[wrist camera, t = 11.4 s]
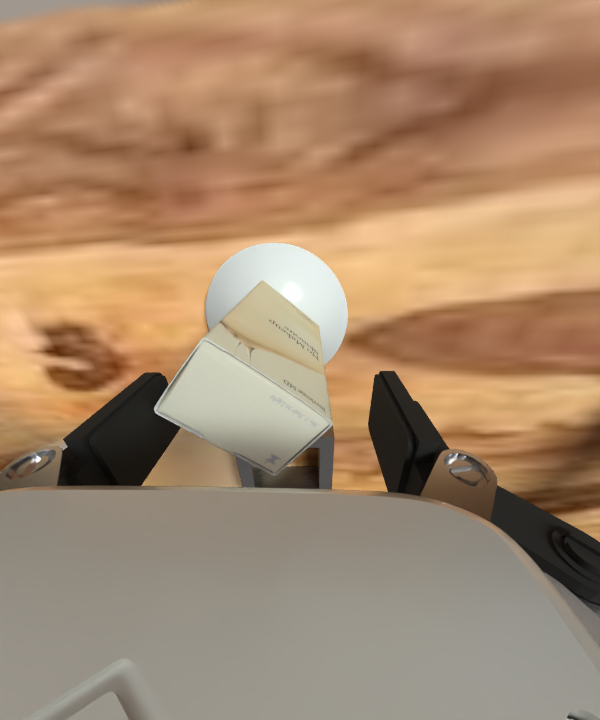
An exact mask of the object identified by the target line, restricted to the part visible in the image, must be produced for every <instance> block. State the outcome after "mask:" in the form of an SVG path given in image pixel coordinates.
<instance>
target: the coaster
mask: <svg viewBox="0 0 600 720" xmlns="http://www.w3.org/2000/svg"><path fill="white" fill-rule="evenodd" d="M262 280H263V281H265V282H266V283H267V284H268V285H270V286H271V287H272V288H274V289H275V290H276V291H277V292H279V293H280V294H281V295H282V296H284V297H285V298H286V299H287V300H288V301H290V302H291V303H292V304H293V305H295V306H296V307H297V308H298V309H299V310H301V311H302V312H303V313H304V314H305V315H307V316H308V317H309V318H310V319H311V320H313V321H314V322H315V323H316V324H317V325H318V326H319V330H320V337H321V344H322V352H323V358H324V365H325V364H326V363H327V362H328V361H329V360H330V359H331V358H332V357H333V356H334V354H335V353H336V352H337V350H338V348H339V347H340V345H341V343H342V340H343V338H344V335H345V331H346V327H347V320H348V310H347V303H346V298H345V295H344V292H343V289H342V287H341V285H340V283H339V281H338V279H337V278H336V276H335V274H334V273H333V272H332V271H331V269H330V268H329V267H328V266H327V265H326V264H325V263H324V262H323V261H322V260H321V259H320V258H318V257H317V256H315V255H314V254H312V253H311V252H309V251H307V250H305V249H303V248H301V247H298V246H295V245H291V244H286V243H263V244H258V245H254V246H251V247H248V248H246V249H243V250H241V251H239V252H238V253H236V254H235V255H233V256H232V257H230V258H229V259H228V260H227V261H226V262H225V263H224V264H223V265H222V266H221V267H220V268H219V270H218V271H217V273H216V274H215V276H214V278H213V280H212V282H211V284H210V286H209V290H208V294H207V299H206V318H207V324H208V327H209V331H210V330H211V329H212V328H213V327H214V326H215V325H216V324H218V323H219V322H220V321H221V320H222V319H223V318H224V317H225V316H226V315H227V314H228V313H229V312H230V311H231V310H232V309H233V308H234V307H235V306H236V305H237V304H238V303H239V302H240V301H241V300H242V299H243V298H244V297H245V296H246V295H247V294H248V293H249V292H250V291H252V290H253V289H254V288H255V287H256V286H257V285H258V284H259V283H260V282H261V281H262Z"/></svg>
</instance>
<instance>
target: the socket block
mask: <svg viewBox="0 0 600 720" xmlns="http://www.w3.org/2000/svg"><path fill="white" fill-rule="evenodd" d="M308 448H317V466H302V467H285V468H284V469H282V470H281V471H280V472H279V473H278V474H277V475H275V476H273V475H271V474H269V473H268V472H266V471H264V470H262V469H260V468H258V467H256V466H254V465H252V464H250V463H248V462H246V461H245V460H243V459H241V458H239V457H237V456H236V459H237V464H238V468H239V473H240V477H241V482H242V486H243V487H246V488H294V489H332V473H333V454H334V432H333V426H331V428H329V429H328V430H327V431H326V432H325V433H324V434H323V435H322V436H321V437H319V438H318V439H317V440H316V441H315V442H314V443H313V444H312V445H311V446H310V447H308Z"/></svg>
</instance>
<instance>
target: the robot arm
mask: <svg viewBox="0 0 600 720" xmlns="http://www.w3.org/2000/svg"><path fill="white" fill-rule="evenodd" d="M167 387H168V382H167V379H166V377H165V376H163V375H162V374H161V373H144V374H143V375H141V376H140V377H139V378H138V379H137V380H135V381H134V382H133V383H132V384H130V385H129V386H128V387H127V388H125V389H124V390H123V391H122V392H121V393H119V394H118V395H117V396H116V397H114V398H113V399H112V400H111V401H109V402H108V403H107V404H106V405H105V406H103V407H102V408H101V409H100V410H98V411H97V412H96V413H95V414H94V415H92V416H91V417H90V418H89V419H87V420H86V421H85V422H84V423H82V424H81V425H80V426H79V427H78V428H76V429H75V430H74V431H73V432H71V433H70V434H69V435H68V436H67V437H65V438H64V439H63V440H64V442H65V443H66V445H67V446H68V447H67V448H66V449H65V450H64V451H63V450H62V448H60V447H59V446H47V447H43V448H39V449H36V450H34V451H31V452H29V453H27V454H25V455H23V456H21V457H19V458H18V459H16V460H15V461H13V462H12V463H10V464H9V465H8V466H7V467H6V468H5V469H3V470H2V472H1V473H0V720H600V542H598V541H597V540H595V539H594V538H592V537H591V536H589V535H587V534H586V533H584V532H582V531H581V530H579V529H577V528H575V527H573V526H571V525H570V524H568V523H566V522H564V521H562V520H560V519H558V518H557V517H555V516H553V515H551V514H549V513H547V512H546V511H544V510H542V509H540V508H538V507H536V506H534V505H533V504H531V503H529V502H527V501H525V500H523V499H522V498H520V497H518V496H516V495H514V494H512V493H511V492H509V491H507V490H505V489H503V488H501V487H499V486H498V485H497V477H496V475H495V473H494V471H493V470H492V469H491V467H490V466H489V465H488V464H487V463H485V462H484V461H483V460H482V459H480V458H479V457H477V456H475V455H473V454H471V453H469V452H466V451H463V450H457V449H449V448H448V446H447V445H446V443H445V442H444V440H443V439H442V437H441V436H440V434H439V433H438V431H437V430H436V428H435V427H434V425H433V424H432V422H431V421H430V419H429V418H428V416H427V415H426V413H425V412H424V410H423V409H422V407H421V406H420V404H419V403H418V402H417V401H413V399H412V398H411V396H410V395H409V393H408V392H407V390H406V388H405V387H404V385H403V384H402V382H401V381H400V379H399V377H398V376H397V374H396V373H395V372H394V371H380V372H379V374H376V375H375V377H374V384H373V392H372V399H371V407H370V414H369V421H368V427H369V432H370V435H371V438H372V441H373V445H374V448H375V451H376V454H377V458H378V461H379V464H380V467H381V471H382V474H383V477H384V480H385V484H386V487H387V490H388V492H381V491H360V490H335V489H294V488H246V487H185V486H141V485H142V484H143V482H144V481H145V479H146V478H147V476H148V475H149V473H150V472H151V470H152V469H153V467H154V466H155V465H156V463H157V462H158V460H159V459H160V457H161V456H162V454H163V453H164V451H165V450H166V448H167V447H168V445H169V444H170V443H171V441H172V440H173V438H174V437H175V435H176V434H177V432H178V431H179V429H180V426H178V425H176V424H175V423H173V422H171V421H169V420H167V419H165V418H163V417H161V416H159V415H158V414H156V413H155V411H154V407H155V405H156V404H157V402H158V401H159V399H160V397H161V396H162V394H163V393H164V391H165V390H166V388H167Z"/></svg>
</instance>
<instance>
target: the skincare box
mask: <svg viewBox="0 0 600 720" xmlns="http://www.w3.org/2000/svg"><path fill="white" fill-rule="evenodd" d="M154 411H155V413H156V414H158V415H159V416H161V417H163V418H165V419H167V420H169V421H171V422H173V423H175V424H176V425H178V426H180V427H182V428H184V429H186V430H187V431H189V432H191V433H193V434H195V435H197V436H199V437H201V438H203V439H204V440H206V441H207V442H209V443H211V444H213V445H215V446H217V447H219V448H221V449H223V450H225V451H227V452H229V453H231V454H233V455H235V456H237V457H239V458H241V459H243V460H245V461H246V462H248V463H250V464H252V465H254V466H256V467H258V468H260V469H262V470H264V471H266V472H268V473H269V474H271V475H273V476H275V475H277V474H278V473H279V472H280V471H281V470H282V469H284V468H285V467H286V466H287V465H288V464H289V463H291V462H292V461H293V460H294V459H295V458H297V457H298V456H299V455H300V454H301V453H302V452H304V451H305V450H306V449H307V448H308V447H310V446H311V445H312V444H313V443H314V442H315V441H316V440H317V439H318V438H319V437H321V436H322V435H323V434H324V433H325V432H326V431H327V430H328V429H329V428H331V426H332V417H331V409H330V403H329V395H328V388H327V381H326V374H325V366H324V358H323V352H322V344H321V337H320V330H319V326H318V325H317V324H316V323H315V322H314V321H313V320H311V319H310V318H309V317H308V316H307V315H305V314H304V313H303V312H302V311H301V310H299V309H298V308H297V307H296V306H295V305H293V304H292V303H291V302H290V301H288V300H287V299H286V298H285V297H284V296H282V295H281V294H280V293H279V292H277V291H276V290H275V289H274V288H272V287H271V286H270V285H268V284H267V283H266V282H265V281H263V280H262V281H261V282H260V283H259V284H258V285H257V286H256V287H255V288H254V289H253V290H252V291H250V292H249V293H248V294H247V295H246V296H245V297H244V298H243V299H242V300H241V301H240V302H239V303H238V304H237V305H236V306H235V307H234V308H233V309H232V310H231V311H230V312H229V313H228V314H227V315H226V316H225V317H224V318H223V319H222V320H221V321H220V322H219V323H218V324H216V325H215V326H214V327H213V328H212V329H211V330H210V331H209V332H208V333H207V334H206V335H205V336H204V337H203V338H202V339H201V340H200V342H199V343H198V345H197V346H196V347H195V349H194V350H193V352H192V353H191V354H190V356H189V357H188V359H187V360H186V361H185V362H184V364H183V365H182V367H181V368H180V369H179V371H178V372H177V374H176V375H175V377H174V378H173V379H172V381H171V382H170V384H169V385H168V387H167V388H166V390H165V391H164V393H163V394H162V396H161V397H160V399H159V401H158V402H157V404H156V405H155V407H154Z"/></svg>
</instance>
